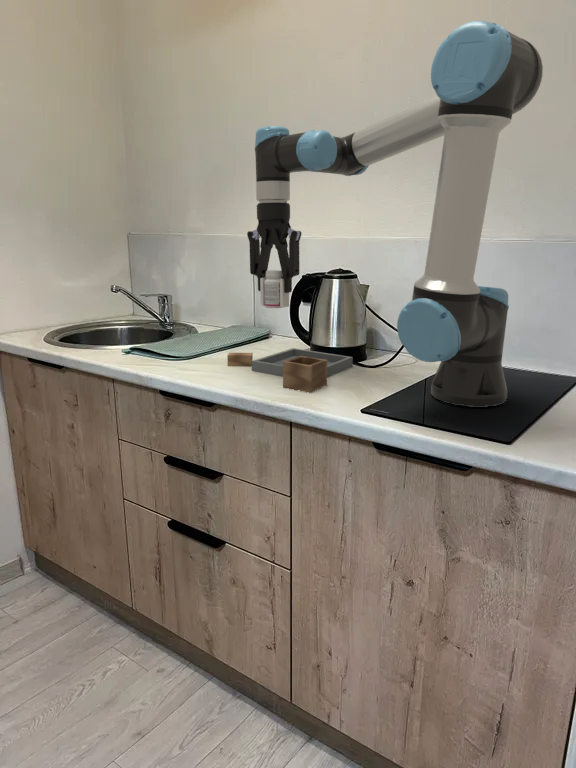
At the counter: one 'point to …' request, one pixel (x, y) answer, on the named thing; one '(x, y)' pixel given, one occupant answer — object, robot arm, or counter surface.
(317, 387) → the walnut box
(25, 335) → the counter surface
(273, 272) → the pill bottle
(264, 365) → the tray
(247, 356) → the stained block
